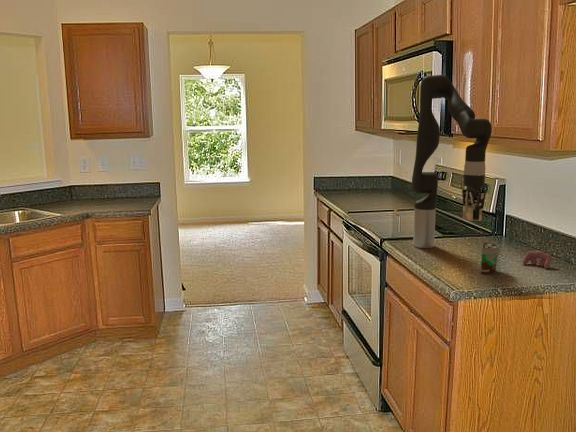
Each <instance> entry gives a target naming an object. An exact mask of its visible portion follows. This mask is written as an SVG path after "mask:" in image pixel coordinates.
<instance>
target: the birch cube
mask: <svg viewBox="0 0 576 432" xmlns="http://www.w3.org/2000/svg"><path fill="white" fill-rule="evenodd" d="M473 210H474V209H473V205H469V206H465V205H463V206H462V219H463V220H465V221H468V222H473V221H474V222H478V221H479V222H480V221H482V218H483V217H482V216H483V215H482V214H483V209H481V210H480V211H479V220H473Z"/></svg>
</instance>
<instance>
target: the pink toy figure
mask: <svg viewBox="0 0 576 432" xmlns="http://www.w3.org/2000/svg"><path fill="white" fill-rule="evenodd" d="M537 259H538V260H539V259H540V260H539V261H538V260H537ZM552 261H553V257H552V255H551V254H549V253H548V252H545V251H543V250H537V249H536V250H530V251H528V252H527V253H526V255H525V256H524V258H523V260H522V265H524V266H526V265H527V264H528V263H529V262H530V264H531V265H534V266H536V265H537V264H539V265H538V266H540V267H544V269H545V270H547V269H549V267H550V266H551V263H552Z"/></svg>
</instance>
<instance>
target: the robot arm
mask: <svg viewBox="0 0 576 432" xmlns="http://www.w3.org/2000/svg"><path fill="white" fill-rule="evenodd" d="M419 87H420V88H419V115H418V116H419V117H418V125H417V126H418V127H417V135H416V144H415V145H416V147H415V148H416V150H415V159H414V164H413V171H412V177H411V190H412V192H413V193H415V194H426V195H425V196H424V197H423V198H421V199H418V200H416V201H415V202H414V207H413V208H414V210H413V212H414V214H413V233H412V235H413V236H412V245H413V247H415V248H418V249H419V248H420V249H431V248H435V237H436V236H435V235H436V209H437V207H436V206H437V195H438V187H439V177H438V174H437V173H436V172H435V171H423V170H424V168H425V165H426V163H427V162H428V160H429V159H430V158H431V157H432V155H434V153H435V152H436V150H437V149H438V147H439V143H440V137H441V135H440V134H441V128H440V125H439V123H438V121H437V119H436V117H435V116H434V112H433V109H432V108H433V105H432V104H433V103H432V102H433V99H442V98H444V99H445V100H446V101H447V102H448V104H447V106H448V107H447V110H448V113H449V114H450V116H451V118H452V119H453V120H454V121H455V122H456V123H457V125H458V128H459V130H460V132H461V135H463V136H464V137H465V138H466V139H475V141H474V143H472V144H469V145H467V146H466V148H465V158H464V159H465V160H464V166H463V168H464V169H463V182H462V183H463V186H464V187H466V188H465V189H464V188H463V189H461V193H462V194H461V196H462V205H463V206H469V205H473V209H474V210H473V220H479V211H480V210H481V209H482V210H483V209H484V206H485V201H486V195H487V194H486V193H484V192H482V187H485V185H486V150H487V147H488V145H489V141H490V139H491V136H492V130H493V127H492V123H491V122H490V120H488V119H487V118H476V113H475V111H474V110H473V109H472V108H471V107H470V106H469V105H468V104H467V103H466V102H465V101H464V99H462V97H461V95H460V94H459V92H458V91H457V89H456V87H455V86H454V84H453V82H452V81H451V80H450V78H449V77H448V76H447V75H444V74H435V75H434V74H433V75H425V76H424V77H423V78H422V79H421V80H420V85H419Z"/></svg>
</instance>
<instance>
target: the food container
mask: <svg viewBox="0 0 576 432" xmlns="http://www.w3.org/2000/svg"><path fill="white" fill-rule="evenodd" d="M499 253H501V249H500V246H499V244H497V243H495V242H492V241H491V242H490V241H483V245H482V250H481V262H480V263H481V264H480V265H481V266H480V267H481V268H480V274H482V275H490V274H495V273H496V268H497V261H498V257H499V256H498V255H499Z"/></svg>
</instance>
